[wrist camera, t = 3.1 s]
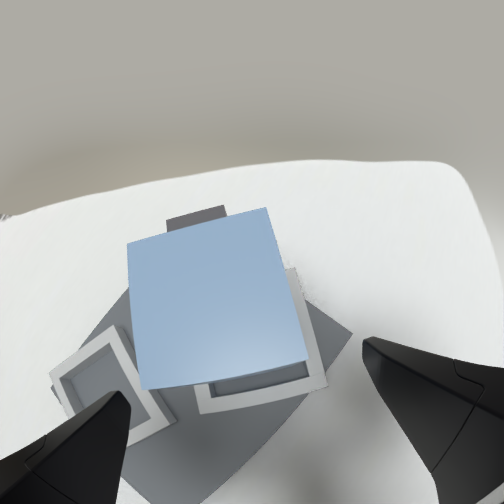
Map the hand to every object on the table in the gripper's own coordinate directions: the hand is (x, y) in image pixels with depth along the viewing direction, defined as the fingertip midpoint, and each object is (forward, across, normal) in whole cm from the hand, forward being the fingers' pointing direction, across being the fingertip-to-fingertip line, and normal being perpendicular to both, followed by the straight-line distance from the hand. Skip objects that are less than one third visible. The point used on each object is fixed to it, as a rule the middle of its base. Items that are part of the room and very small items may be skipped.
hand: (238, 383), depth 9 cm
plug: (+9, 0, -6) cm, 11 cm away
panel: (+9, -6, -7) cm, 13 cm away
